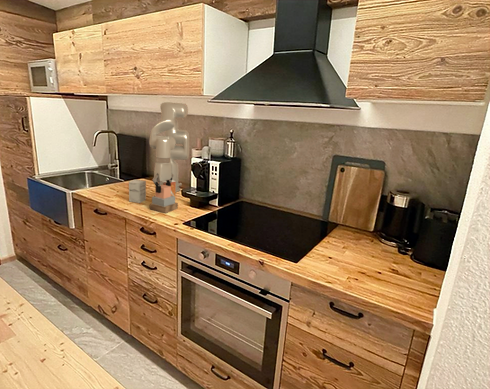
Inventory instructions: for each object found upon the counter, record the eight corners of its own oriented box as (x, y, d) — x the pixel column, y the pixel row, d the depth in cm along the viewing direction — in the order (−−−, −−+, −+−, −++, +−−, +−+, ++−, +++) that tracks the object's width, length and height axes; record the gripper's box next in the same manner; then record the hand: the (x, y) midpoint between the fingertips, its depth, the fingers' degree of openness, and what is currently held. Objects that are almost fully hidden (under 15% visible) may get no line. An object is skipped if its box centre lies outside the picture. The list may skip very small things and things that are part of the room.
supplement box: (128, 201, 180) (128, 181, 177) (135, 198, 187) (135, 179, 184) (139, 203, 179) (139, 183, 176) (146, 200, 186) (146, 180, 183)
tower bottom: (162, 205, 179) (162, 199, 178) (177, 209, 175) (177, 202, 174) (149, 210, 169) (149, 204, 168) (165, 214, 165) (165, 207, 164)
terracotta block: (162, 194, 174) (162, 184, 172) (170, 196, 172) (170, 186, 170) (155, 196, 169) (155, 186, 167) (163, 198, 166) (163, 188, 165)
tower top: (163, 200, 177) (163, 193, 176) (175, 203, 173) (175, 196, 172) (152, 203, 169) (152, 196, 168) (163, 206, 165) (163, 199, 164)
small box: (163, 203, 183) (163, 182, 179) (159, 200, 188) (159, 180, 184) (175, 201, 187) (175, 181, 184) (172, 198, 192) (172, 179, 189)
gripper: (167, 157, 174) (167, 187, 178) (147, 161, 158) (147, 193, 163) (178, 159, 171) (178, 189, 176) (158, 163, 156) (158, 195, 160)
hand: (163, 190), depth 169 cm, fingers open, 8 cm apart
